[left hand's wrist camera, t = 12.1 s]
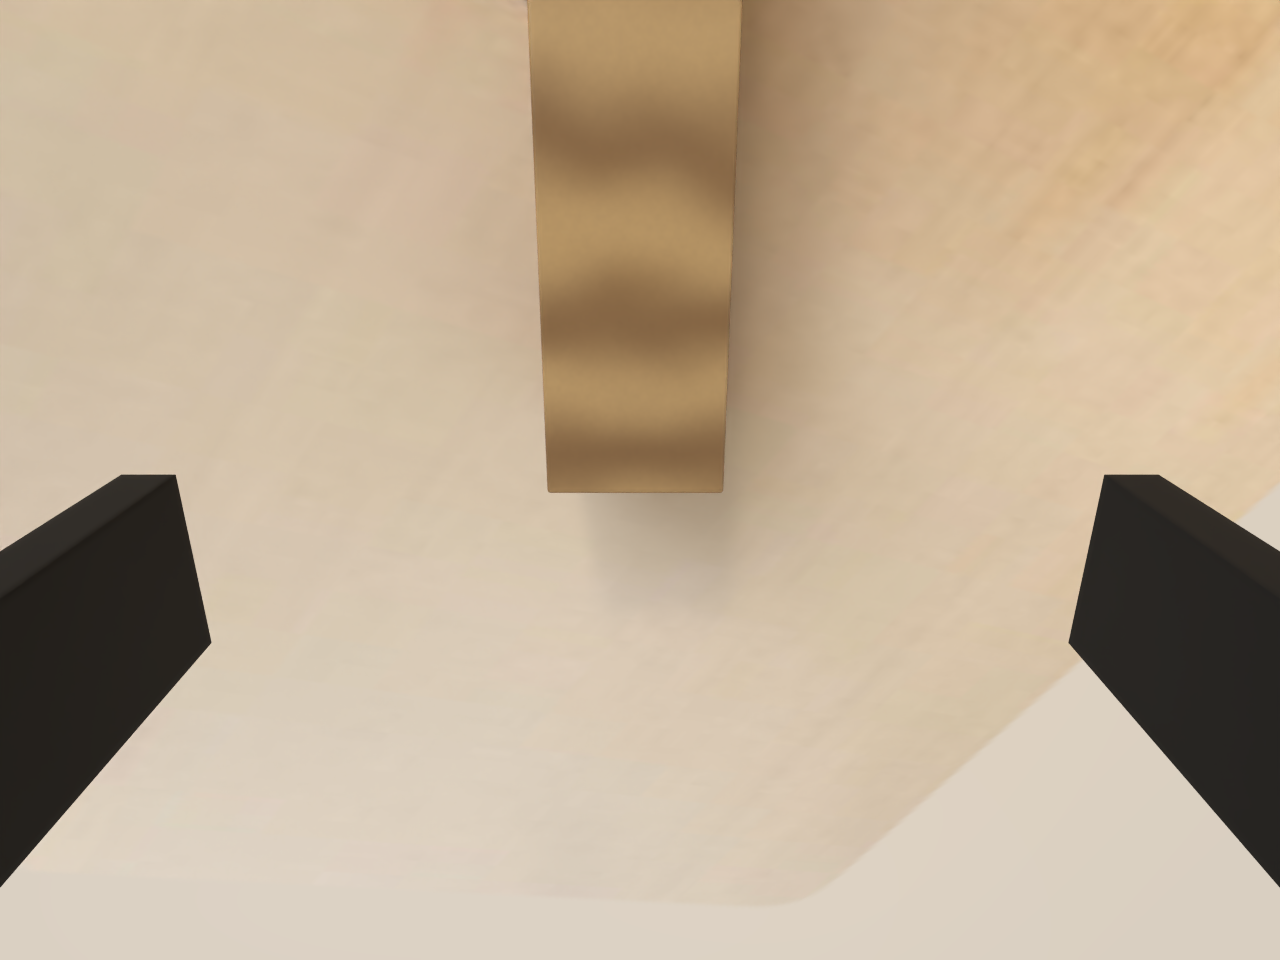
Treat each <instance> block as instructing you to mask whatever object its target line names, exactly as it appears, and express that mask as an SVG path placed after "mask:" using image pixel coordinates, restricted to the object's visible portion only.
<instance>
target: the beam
mask: <svg viewBox="0 0 1280 960" xmlns="http://www.w3.org/2000/svg"><path fill="white" fill-rule="evenodd" d="M527 8H528V32H529V56H530V80H531V104H532V128H533V151H534V175H535V199H536V223H537V247H538V271H539V295H540V319H541V343H542V367H543V391H544V415H545V439H546V463H547V487H548V492H550V493H721V492H722V491H723V480H724V454H725V429H726V404H727V378H728V353H729V327H730V302H731V277H732V251H733V226H734V200H735V175H736V149H737V124H738V99H739V73H740V48H741V22H742V0H527Z"/></svg>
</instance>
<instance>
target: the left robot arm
mask: <svg viewBox="0 0 1280 960" xmlns="http://www.w3.org/2000/svg"><path fill="white" fill-rule="evenodd" d="M210 644H211V638H210V634H209V629H208V624H207V620H206V615H205V610H204V605H203V601H202V596H201V591H200V587H199V582H198V577H197V573H196V568H195V563H194V559H193V554H192V549H191V545H190V540H189V535H188V531H187V526H186V521H185V516H184V512H183V507H182V502H181V498H180V493H179V488H178V484H177V479H176V475H120V476H119V477H117V478H115V479H114V480H112V481H111V482H109V483H108V484H106V485H104V486H103V487H101V488H100V489H98V490H97V491H95V492H93V493H92V494H90V495H89V496H87V497H85V498H84V499H82V500H81V501H79V502H78V503H76V504H74V505H73V506H71V507H70V508H68V509H66V510H65V511H63V512H62V513H60V514H59V515H57V516H55V517H54V518H52V519H51V520H49V521H48V522H46V523H44V524H43V525H41V526H40V527H38V528H36V529H35V530H33V531H32V532H30V533H29V534H27V535H25V536H24V537H22V538H21V539H19V540H18V541H16V542H14V543H13V544H11V545H10V546H8V547H6V548H5V549H3V550H2V551H0V887H1V886H2V885H3V884H4V882H5V881H6V880H7V879H8V878H9V877H10V876H11V874H12V873H13V872H14V871H15V870H16V869H17V867H18V866H19V865H20V864H21V863H22V862H23V860H24V859H25V858H26V857H27V856H28V855H29V854H30V852H31V851H32V850H33V849H34V848H35V847H36V845H37V844H38V843H39V842H40V841H41V840H42V838H43V837H44V836H45V835H46V834H47V833H48V832H49V830H50V829H51V828H52V827H53V826H54V825H55V823H56V822H57V821H58V820H59V819H60V818H61V816H62V815H63V814H64V813H65V812H66V811H67V810H68V808H69V807H70V806H71V805H72V804H73V803H74V801H75V800H76V799H77V798H78V797H79V796H80V794H81V793H82V792H83V791H84V790H85V789H86V788H87V786H88V785H89V784H90V783H91V782H92V781H93V779H94V778H95V777H96V776H97V775H98V774H99V772H100V771H101V770H102V769H103V768H104V767H105V765H106V764H107V763H108V762H109V761H110V760H111V759H112V757H113V756H114V755H115V754H116V753H117V752H118V750H119V749H120V748H121V747H122V746H123V745H124V743H125V742H126V741H127V740H128V739H129V738H130V737H131V735H132V734H133V733H134V732H135V731H136V730H137V728H138V727H139V726H140V725H141V724H142V723H143V721H144V720H145V719H146V718H147V717H148V716H149V715H150V713H151V712H152V711H153V710H154V709H155V708H156V706H157V705H158V704H159V703H160V702H161V701H162V699H163V698H164V697H165V696H166V695H167V694H168V693H169V691H170V690H171V689H172V688H173V687H174V686H175V684H176V683H177V682H178V681H179V680H180V679H181V677H182V676H183V675H184V674H185V673H186V672H187V671H188V669H189V668H190V667H191V666H192V665H193V664H194V662H195V661H196V660H197V659H198V658H199V657H200V655H201V654H202V653H203V652H204V651H205V650H206V649H207V647H208V646H209V645H210ZM1069 644H1070V645H1071V646H1072V647H1073V649H1074V650H1075V651H1076V652H1077V653H1078V654H1079V655H1080V657H1081V658H1082V659H1083V660H1084V661H1085V662H1086V664H1087V665H1088V666H1089V667H1090V668H1091V669H1092V671H1093V672H1094V673H1095V674H1096V675H1097V676H1098V677H1099V679H1100V680H1101V681H1102V682H1103V683H1104V684H1105V686H1106V687H1107V688H1108V689H1109V690H1110V691H1111V693H1112V694H1113V695H1114V696H1115V697H1116V698H1117V699H1118V701H1119V702H1120V703H1121V704H1122V705H1123V706H1124V708H1125V709H1126V710H1127V711H1128V712H1129V713H1130V715H1131V716H1132V717H1133V718H1134V719H1135V720H1136V721H1137V723H1138V724H1139V725H1140V726H1141V727H1142V728H1143V730H1144V731H1145V732H1146V733H1147V734H1148V735H1149V737H1150V738H1151V739H1152V740H1153V741H1154V742H1155V743H1156V745H1157V746H1158V747H1159V748H1160V749H1161V750H1162V752H1163V753H1164V754H1165V755H1166V756H1167V757H1168V759H1169V760H1170V761H1171V762H1172V763H1173V764H1174V766H1175V767H1176V768H1177V769H1178V770H1179V771H1180V772H1181V774H1182V775H1183V776H1184V777H1185V778H1186V779H1187V780H1188V782H1189V783H1190V784H1191V785H1192V786H1193V788H1194V789H1195V790H1196V791H1197V792H1198V793H1199V794H1200V796H1201V797H1202V798H1203V799H1204V800H1205V801H1206V803H1207V804H1208V805H1209V806H1210V807H1211V808H1212V810H1213V811H1214V812H1215V813H1216V814H1217V815H1218V816H1219V818H1220V819H1221V820H1222V821H1223V822H1224V823H1225V825H1226V826H1227V827H1228V828H1229V829H1230V830H1231V832H1232V833H1233V834H1234V835H1235V836H1236V837H1237V838H1238V839H1239V841H1240V842H1241V843H1242V844H1243V845H1244V847H1245V848H1246V849H1247V850H1248V851H1249V852H1250V854H1251V855H1252V856H1253V857H1254V858H1255V859H1256V860H1257V862H1258V863H1259V864H1260V865H1261V866H1262V867H1263V869H1264V870H1265V871H1266V872H1267V873H1268V874H1269V876H1270V877H1271V878H1272V879H1273V880H1274V881H1275V882H1276V884H1277V885H1278V886H1279V887H1280V551H1278V550H1277V549H1275V548H1274V547H1272V546H1270V545H1269V544H1267V543H1266V542H1264V541H1262V540H1261V539H1259V538H1258V537H1256V536H1255V535H1253V534H1251V533H1250V532H1248V531H1247V530H1245V529H1244V528H1242V527H1240V526H1239V525H1237V524H1236V523H1234V522H1232V521H1231V520H1229V519H1228V518H1226V517H1225V516H1223V515H1221V514H1220V513H1218V512H1217V511H1215V510H1214V509H1212V508H1210V507H1209V506H1207V505H1206V504H1204V503H1202V502H1201V501H1199V500H1198V499H1196V498H1195V497H1193V496H1191V495H1190V494H1188V493H1187V492H1185V491H1183V490H1182V489H1180V488H1179V487H1177V486H1176V485H1174V484H1172V483H1171V482H1169V481H1168V480H1166V479H1165V478H1163V477H1161V476H1160V475H1104V479H1103V484H1102V488H1101V493H1100V498H1099V502H1098V507H1097V512H1096V516H1095V521H1094V526H1093V531H1092V535H1091V540H1090V545H1089V549H1088V554H1087V559H1086V563H1085V568H1084V573H1083V577H1082V582H1081V587H1080V591H1079V596H1078V601H1077V605H1076V610H1075V615H1074V620H1073V624H1072V629H1071V634H1070V638H1069Z"/></svg>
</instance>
